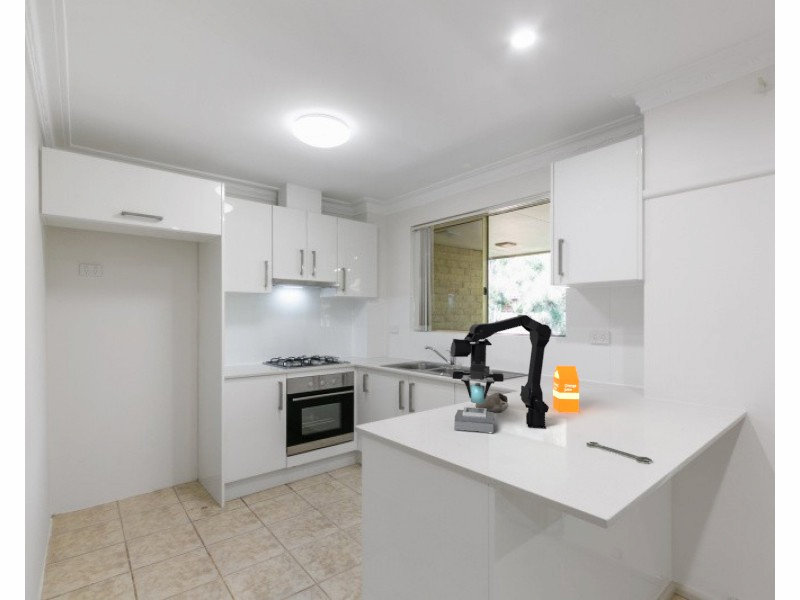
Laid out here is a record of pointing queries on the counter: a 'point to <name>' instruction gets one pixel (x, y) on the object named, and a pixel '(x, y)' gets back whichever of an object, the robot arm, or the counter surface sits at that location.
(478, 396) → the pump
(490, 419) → the square aluminium tube flange
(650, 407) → the counter surface
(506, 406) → the pipe
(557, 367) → the orange juice
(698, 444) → the counter surface
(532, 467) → the counter surface
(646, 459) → the wrench
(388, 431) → the counter surface
